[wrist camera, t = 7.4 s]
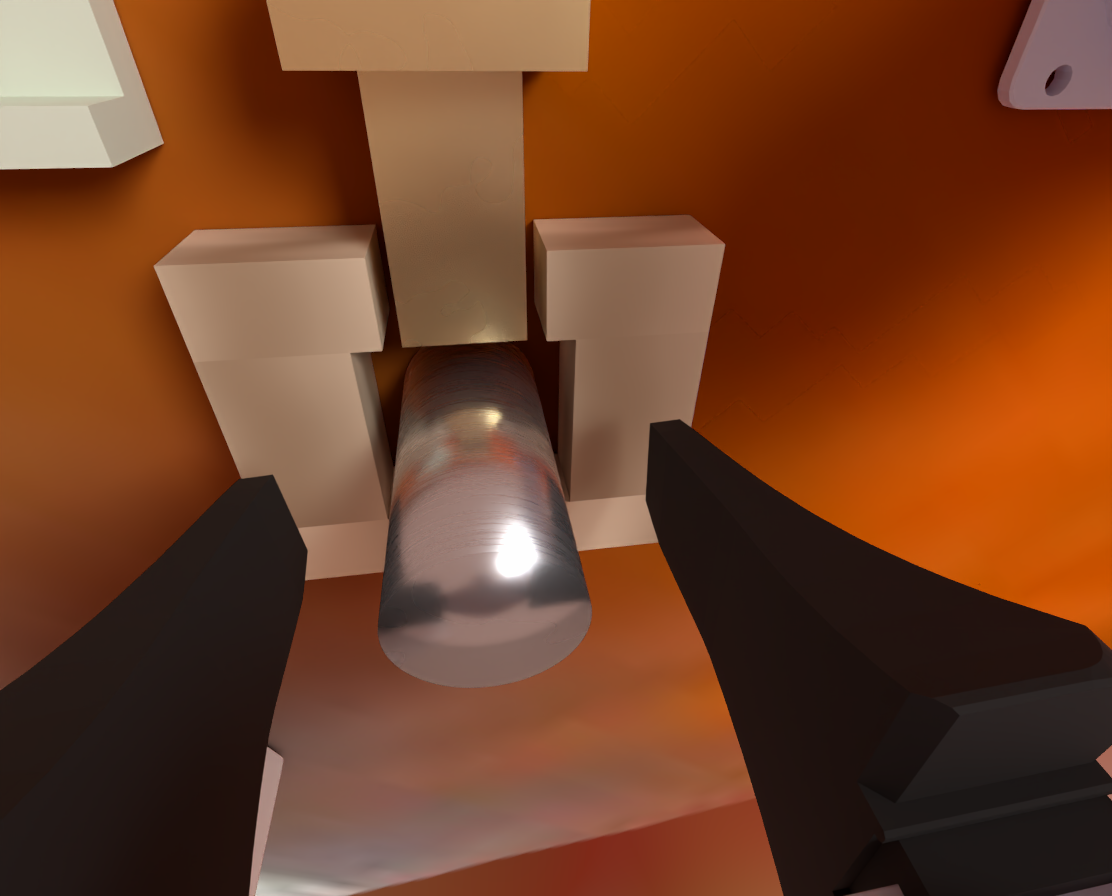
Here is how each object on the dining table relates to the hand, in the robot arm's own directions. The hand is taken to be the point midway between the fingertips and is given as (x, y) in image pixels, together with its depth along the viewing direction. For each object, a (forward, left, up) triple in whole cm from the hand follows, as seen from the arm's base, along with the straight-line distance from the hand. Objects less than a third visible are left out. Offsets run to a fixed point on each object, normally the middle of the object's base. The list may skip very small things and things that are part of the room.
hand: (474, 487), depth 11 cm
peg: (0, 0, -4) cm, 4 cm away
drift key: (0, -5, -4) cm, 6 cm away
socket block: (0, 0, -4) cm, 4 cm away
